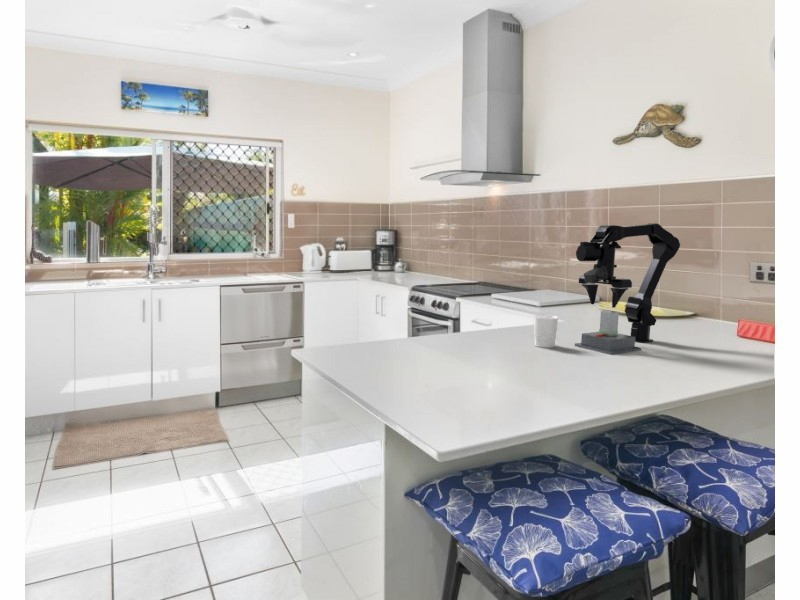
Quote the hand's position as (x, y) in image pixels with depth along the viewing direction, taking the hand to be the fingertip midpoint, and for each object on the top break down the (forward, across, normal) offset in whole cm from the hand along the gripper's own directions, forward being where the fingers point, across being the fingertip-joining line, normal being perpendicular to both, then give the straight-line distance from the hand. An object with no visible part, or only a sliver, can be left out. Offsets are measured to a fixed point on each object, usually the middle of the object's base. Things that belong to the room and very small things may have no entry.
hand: (602, 305), depth 199 cm
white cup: (+13, -4, -23) cm, 27 cm away
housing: (+13, +8, -6) cm, 16 cm away
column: (+10, +8, -6) cm, 14 cm away
